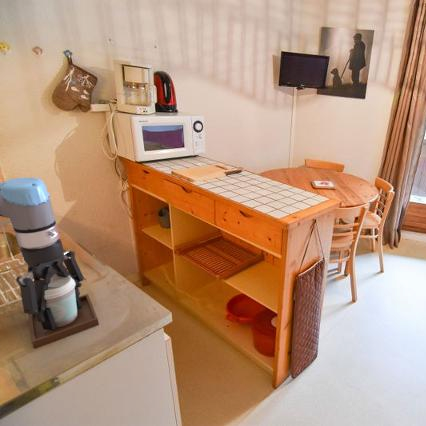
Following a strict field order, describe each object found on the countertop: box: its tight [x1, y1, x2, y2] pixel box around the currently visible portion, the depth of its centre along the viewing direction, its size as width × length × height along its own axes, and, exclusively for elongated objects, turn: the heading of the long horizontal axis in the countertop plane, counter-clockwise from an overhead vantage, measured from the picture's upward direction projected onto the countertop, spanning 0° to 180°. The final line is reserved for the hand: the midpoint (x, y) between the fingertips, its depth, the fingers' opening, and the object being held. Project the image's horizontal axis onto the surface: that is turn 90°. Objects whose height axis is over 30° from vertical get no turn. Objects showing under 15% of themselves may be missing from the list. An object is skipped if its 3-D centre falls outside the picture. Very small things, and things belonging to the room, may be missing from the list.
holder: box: [27, 293, 100, 349], centre depth 85 cm, size 13×13×2 cm
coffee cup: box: [42, 274, 78, 327], centre depth 82 cm, size 9×8×12 cm
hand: (63, 317), depth 85 cm, fingers closed on coffee cup, 8 cm apart
